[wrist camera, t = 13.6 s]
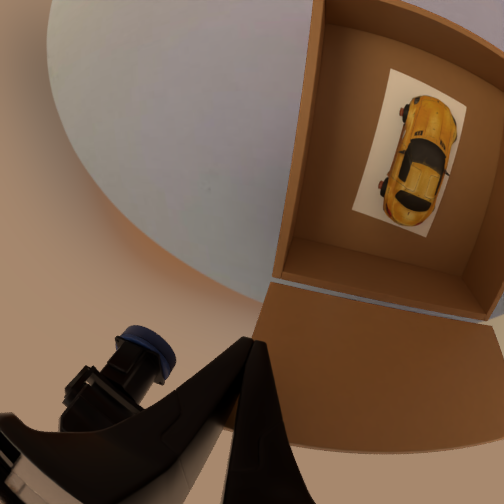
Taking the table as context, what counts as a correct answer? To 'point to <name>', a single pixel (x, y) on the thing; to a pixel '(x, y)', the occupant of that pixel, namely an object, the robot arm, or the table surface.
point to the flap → (379, 375)
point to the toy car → (410, 154)
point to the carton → (358, 149)
